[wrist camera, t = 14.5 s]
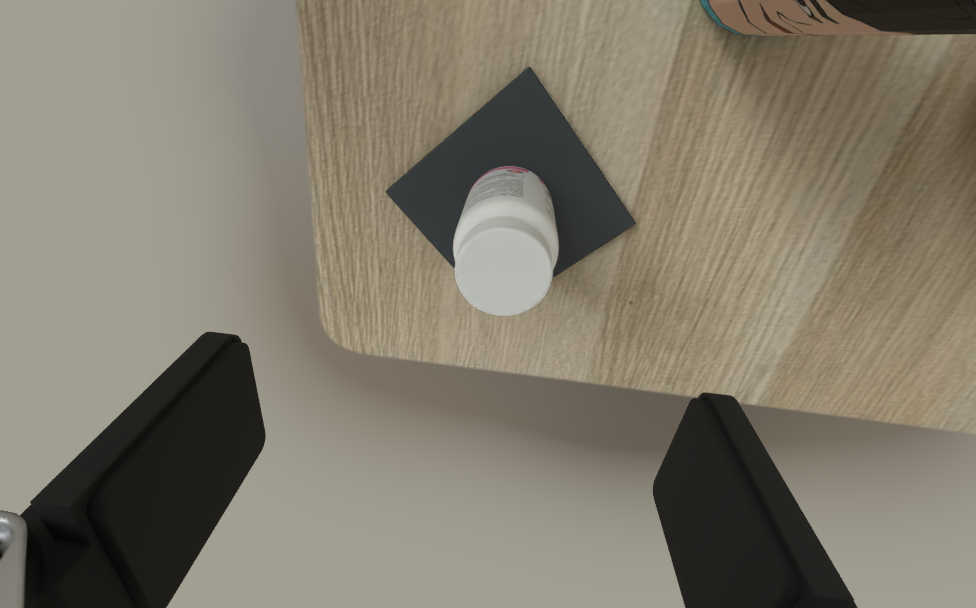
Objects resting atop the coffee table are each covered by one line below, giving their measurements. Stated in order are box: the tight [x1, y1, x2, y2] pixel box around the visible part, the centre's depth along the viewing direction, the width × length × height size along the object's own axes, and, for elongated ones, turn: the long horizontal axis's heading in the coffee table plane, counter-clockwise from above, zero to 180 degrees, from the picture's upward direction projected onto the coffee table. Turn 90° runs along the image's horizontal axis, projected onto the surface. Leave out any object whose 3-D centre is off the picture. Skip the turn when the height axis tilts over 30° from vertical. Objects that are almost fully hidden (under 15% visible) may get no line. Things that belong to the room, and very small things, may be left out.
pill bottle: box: [453, 166, 559, 316], centre depth 22 cm, size 5×5×8 cm
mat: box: [386, 67, 636, 278], centre depth 26 cm, size 10×10×1 cm
